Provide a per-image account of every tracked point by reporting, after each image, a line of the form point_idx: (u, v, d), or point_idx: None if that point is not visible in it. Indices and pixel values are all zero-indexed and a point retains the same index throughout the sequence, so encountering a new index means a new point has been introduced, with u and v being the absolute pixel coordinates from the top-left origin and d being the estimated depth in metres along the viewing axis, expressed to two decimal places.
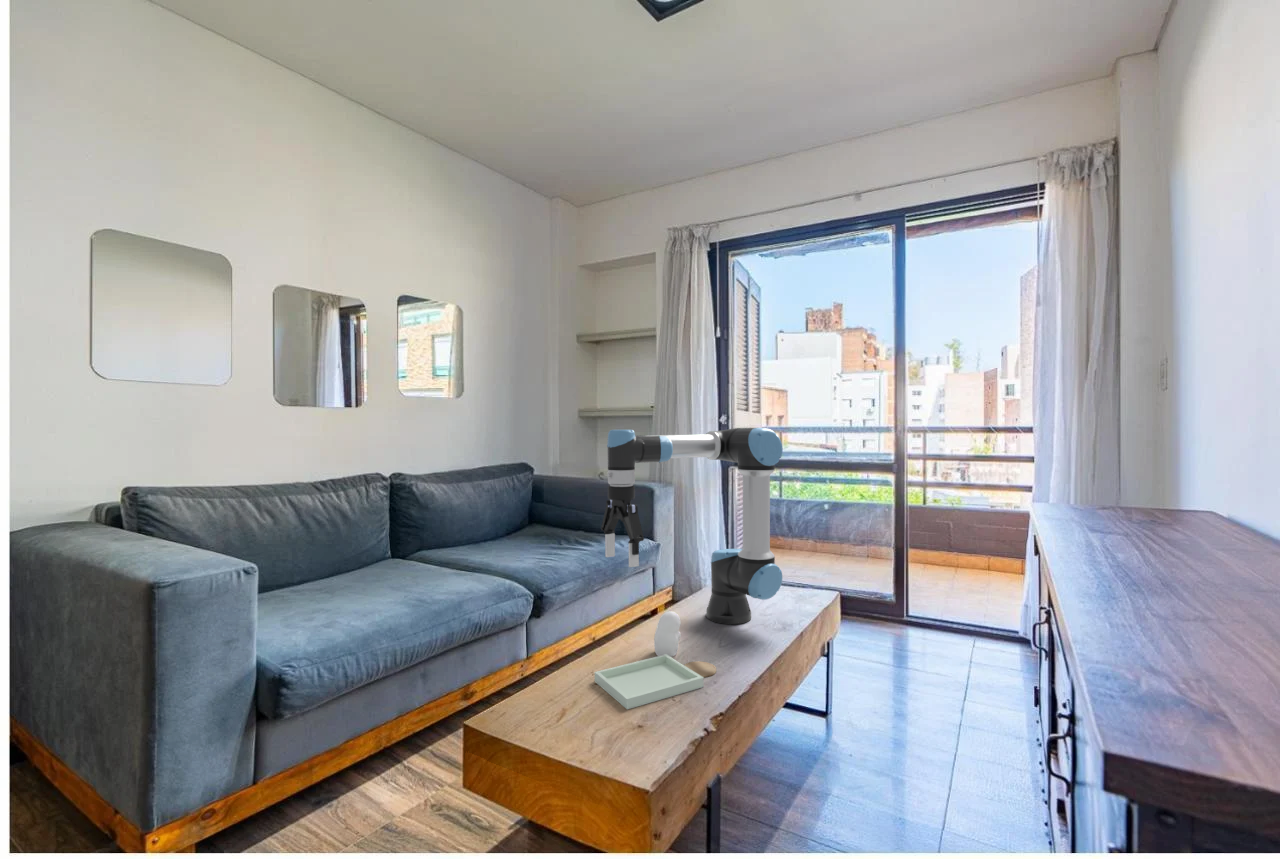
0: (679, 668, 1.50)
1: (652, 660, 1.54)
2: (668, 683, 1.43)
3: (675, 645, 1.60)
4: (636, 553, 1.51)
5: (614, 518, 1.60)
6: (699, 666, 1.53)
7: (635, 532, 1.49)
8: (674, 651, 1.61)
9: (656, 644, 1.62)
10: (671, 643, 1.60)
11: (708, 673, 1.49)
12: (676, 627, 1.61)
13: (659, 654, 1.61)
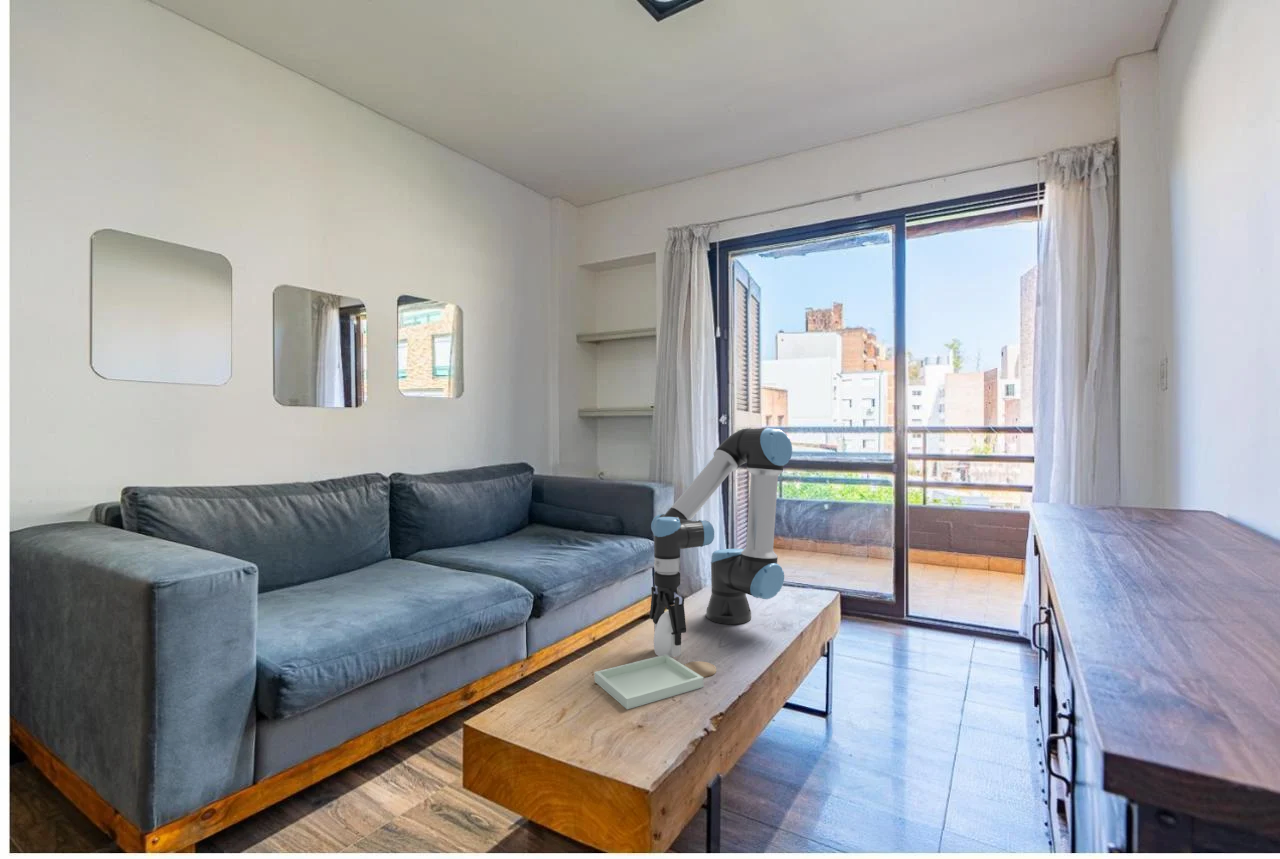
0: (679, 668, 1.50)
1: (652, 660, 1.54)
2: (668, 683, 1.43)
3: None
4: (679, 644, 1.59)
5: (661, 605, 1.65)
6: (699, 666, 1.53)
7: (679, 625, 1.57)
8: None
9: (655, 644, 1.62)
10: (670, 642, 1.60)
11: (708, 673, 1.49)
12: None
13: (658, 654, 1.62)
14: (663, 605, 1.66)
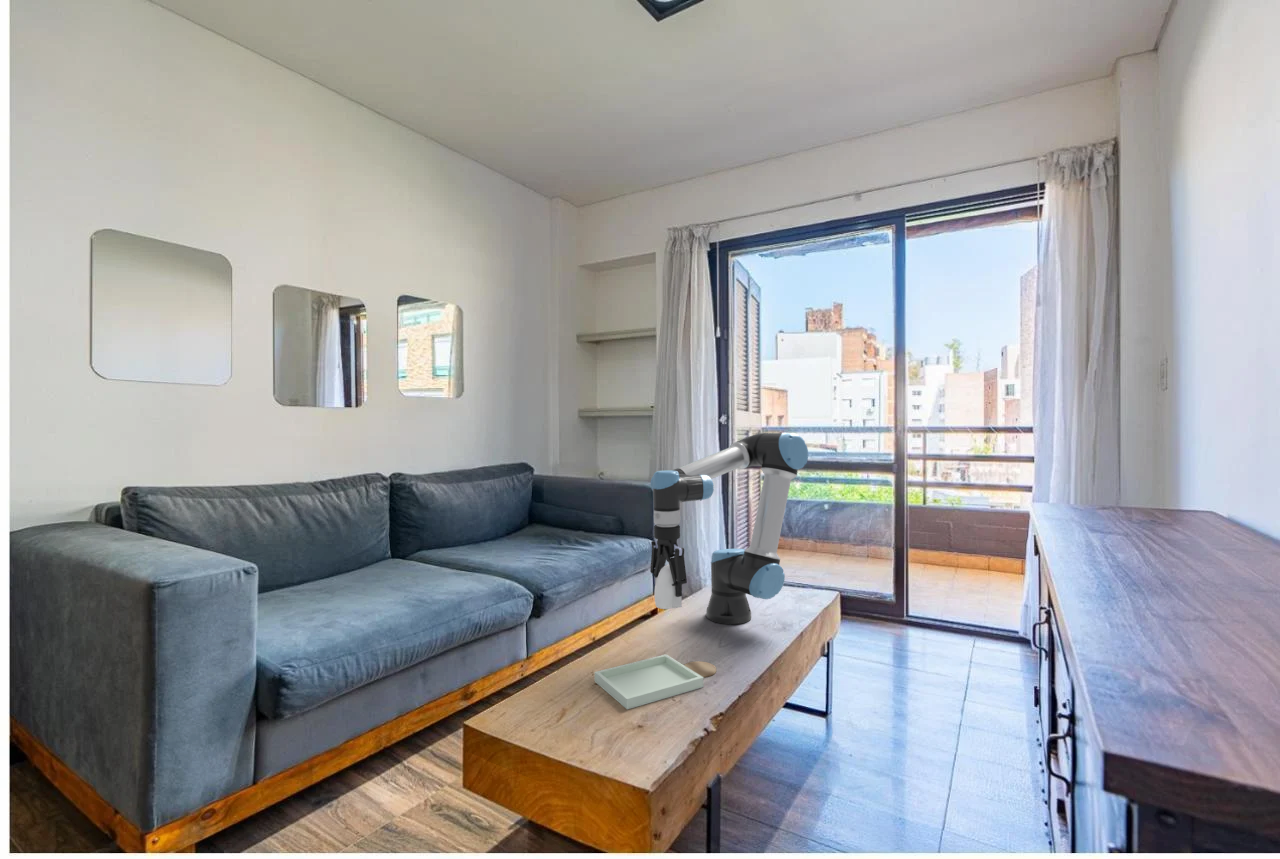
0: (679, 668, 1.50)
1: (652, 660, 1.54)
2: (668, 683, 1.43)
3: None
4: (679, 595, 1.59)
5: (662, 558, 1.66)
6: (699, 666, 1.53)
7: (679, 576, 1.57)
8: None
9: (656, 596, 1.62)
10: (671, 594, 1.60)
11: (708, 673, 1.49)
12: None
13: (659, 606, 1.62)
14: (663, 558, 1.66)
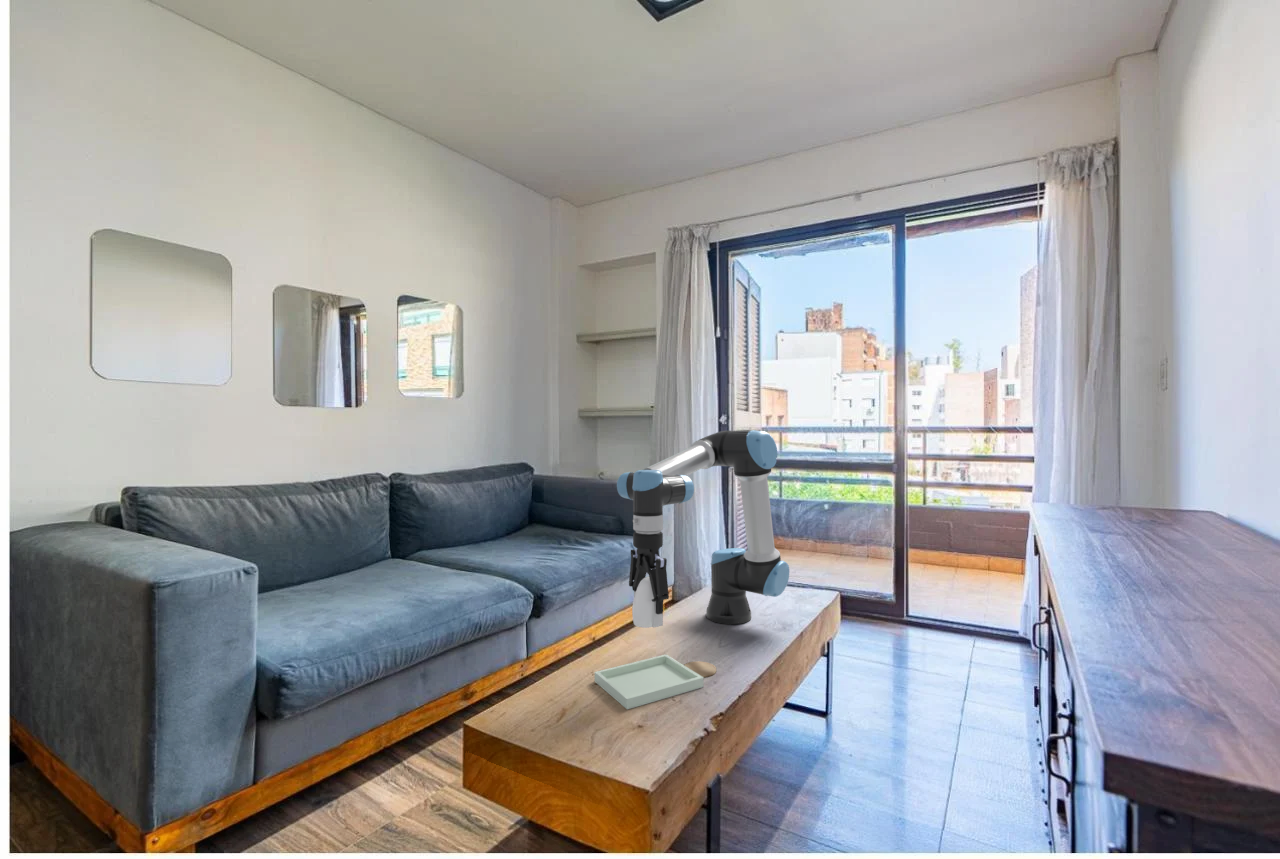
0: (679, 668, 1.50)
1: (652, 660, 1.54)
2: (668, 683, 1.43)
3: None
4: (660, 612, 1.39)
5: (642, 569, 1.46)
6: (699, 666, 1.53)
7: (660, 590, 1.37)
8: None
9: (634, 613, 1.43)
10: (651, 611, 1.41)
11: (708, 673, 1.49)
12: None
13: (637, 624, 1.42)
14: (643, 570, 1.46)
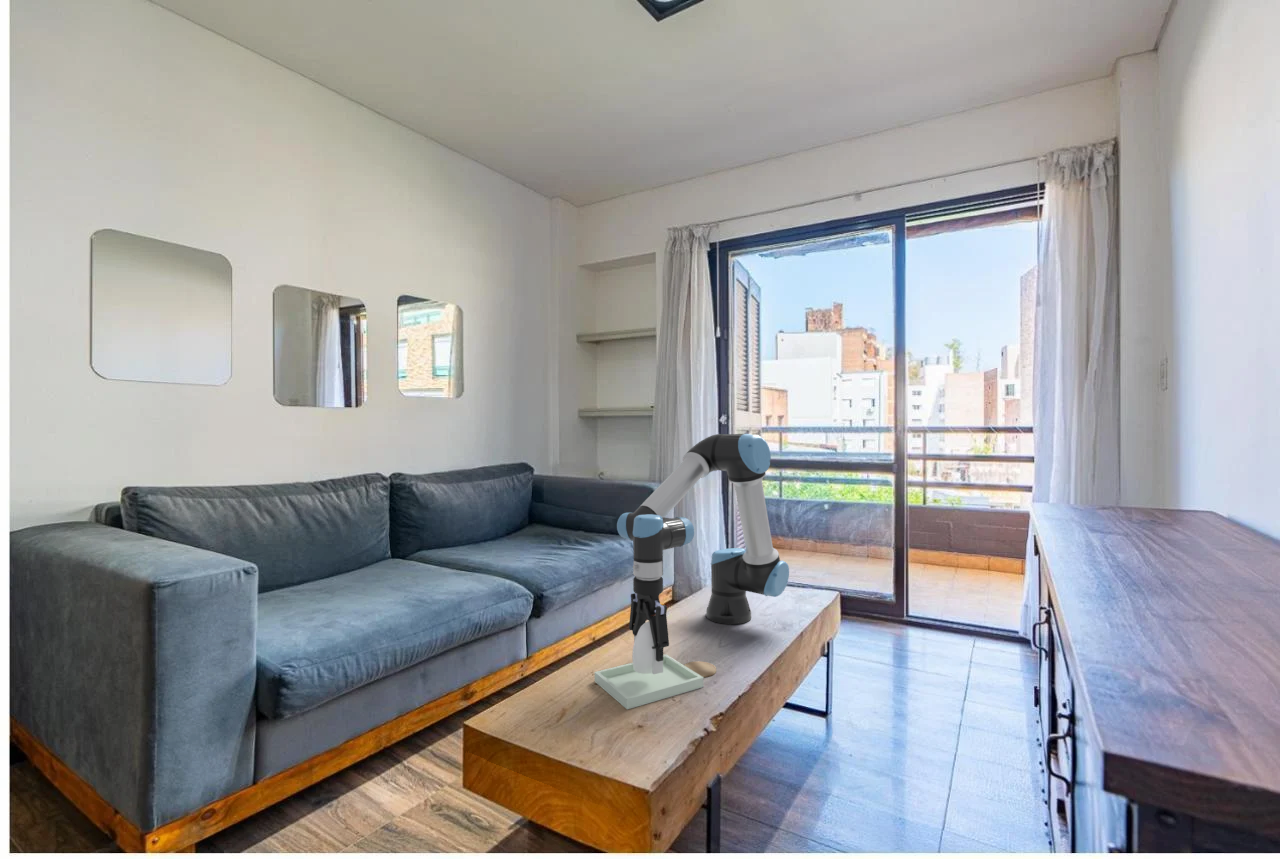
0: (679, 668, 1.50)
1: None
2: (668, 683, 1.43)
3: None
4: (660, 659, 1.39)
5: (642, 614, 1.46)
6: (699, 666, 1.53)
7: (661, 638, 1.37)
8: None
9: (634, 659, 1.43)
10: (651, 657, 1.41)
11: (708, 673, 1.49)
12: None
13: (638, 670, 1.42)
14: (644, 615, 1.46)
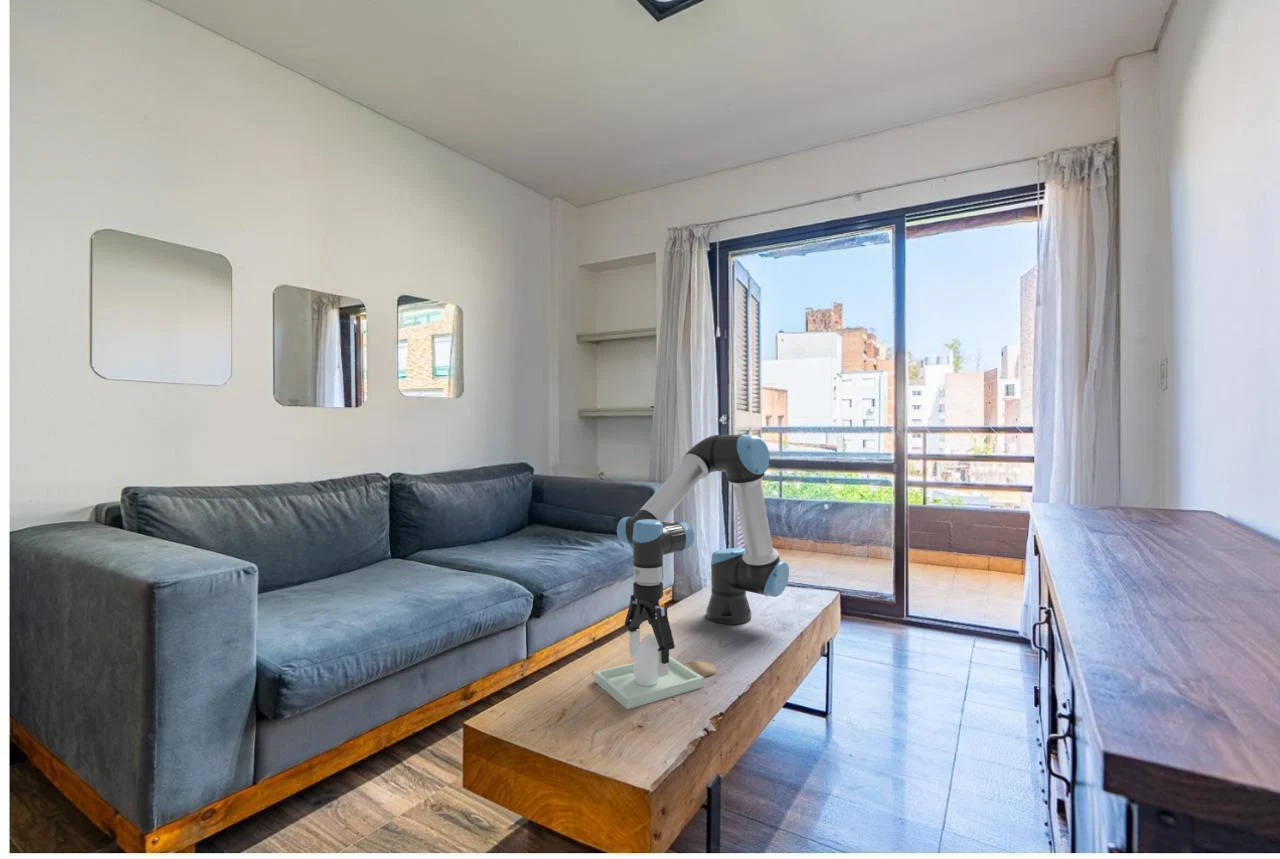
0: (679, 668, 1.50)
1: None
2: (668, 683, 1.43)
3: None
4: (666, 662, 1.37)
5: (640, 616, 1.47)
6: (699, 666, 1.53)
7: (665, 640, 1.36)
8: (655, 680, 1.42)
9: (635, 671, 1.42)
10: (652, 670, 1.40)
11: (708, 673, 1.49)
12: None
13: (638, 682, 1.42)
14: (641, 616, 1.47)
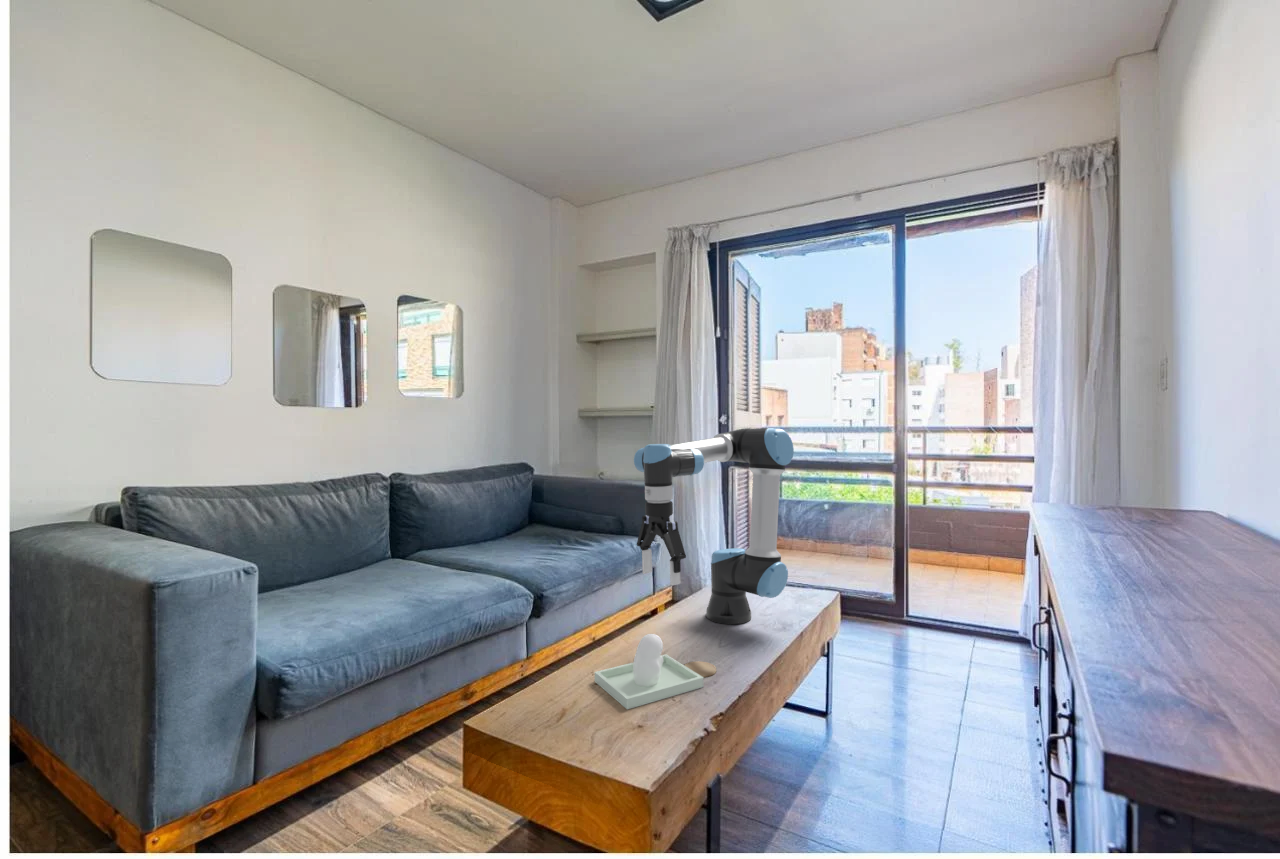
0: (679, 668, 1.50)
1: None
2: (668, 683, 1.43)
3: (656, 673, 1.41)
4: (678, 571, 1.48)
5: (651, 534, 1.57)
6: (699, 666, 1.53)
7: (677, 550, 1.46)
8: (655, 679, 1.42)
9: (635, 671, 1.43)
10: (651, 670, 1.41)
11: (708, 673, 1.49)
12: (658, 652, 1.42)
13: (638, 683, 1.42)
14: (653, 535, 1.58)
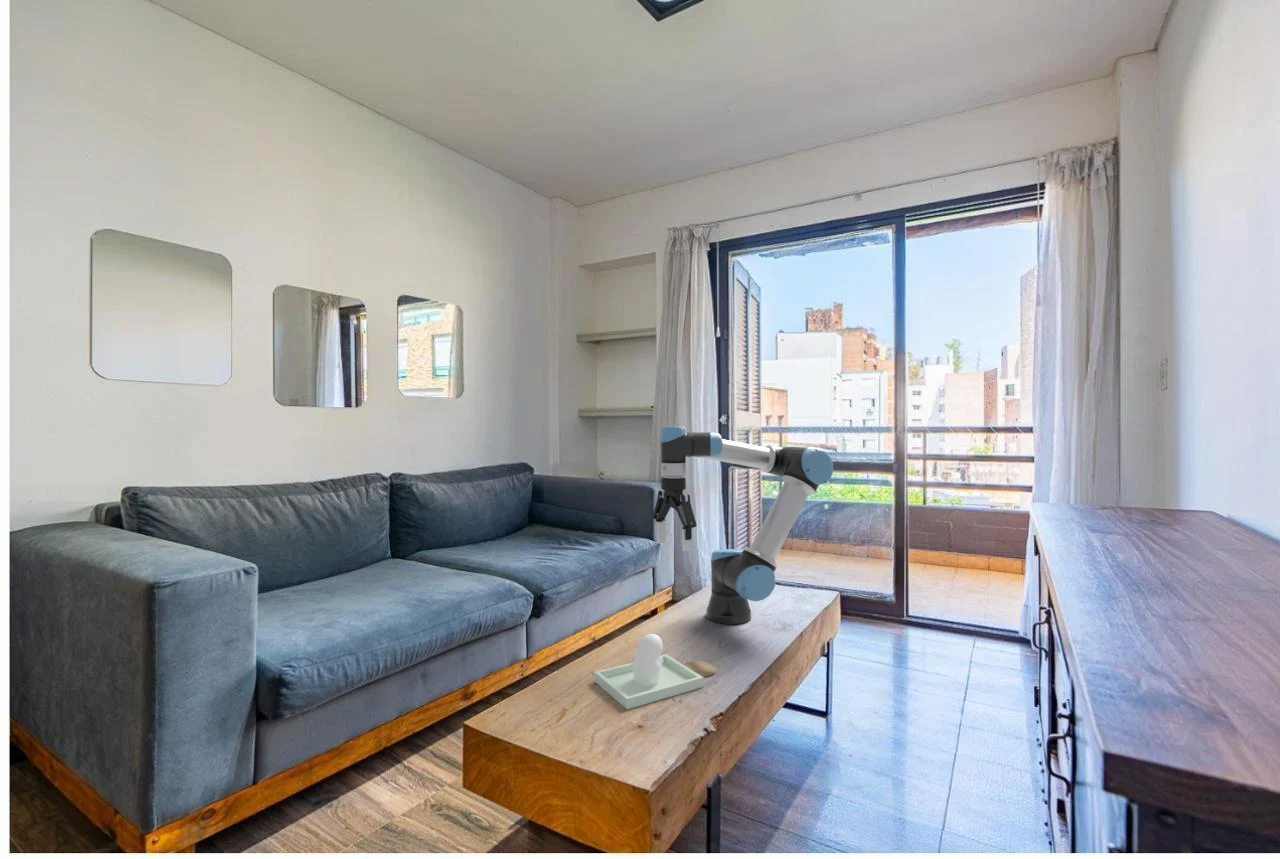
0: (679, 668, 1.50)
1: None
2: (668, 683, 1.43)
3: (656, 673, 1.41)
4: (689, 538, 1.66)
5: (666, 507, 1.76)
6: (699, 666, 1.53)
7: (688, 519, 1.65)
8: (655, 679, 1.42)
9: (635, 671, 1.43)
10: (651, 670, 1.41)
11: (708, 673, 1.49)
12: (658, 652, 1.42)
13: (638, 683, 1.42)
14: (667, 508, 1.76)
